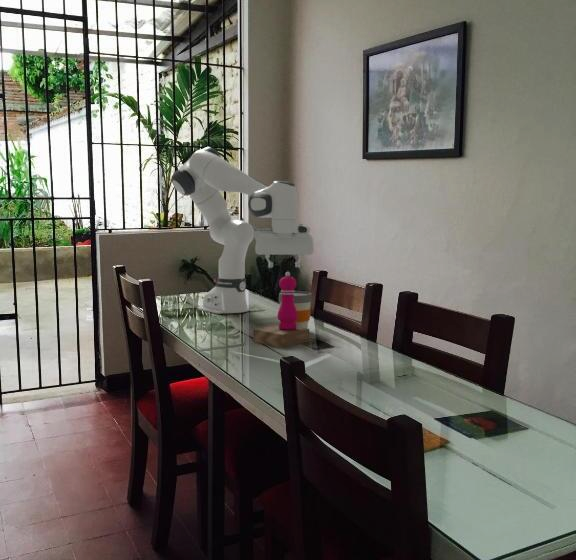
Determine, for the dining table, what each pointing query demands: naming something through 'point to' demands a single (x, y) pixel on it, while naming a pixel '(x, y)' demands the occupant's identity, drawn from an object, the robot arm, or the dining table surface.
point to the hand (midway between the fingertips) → (284, 267)
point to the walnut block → (280, 336)
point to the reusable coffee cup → (301, 307)
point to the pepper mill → (287, 303)
